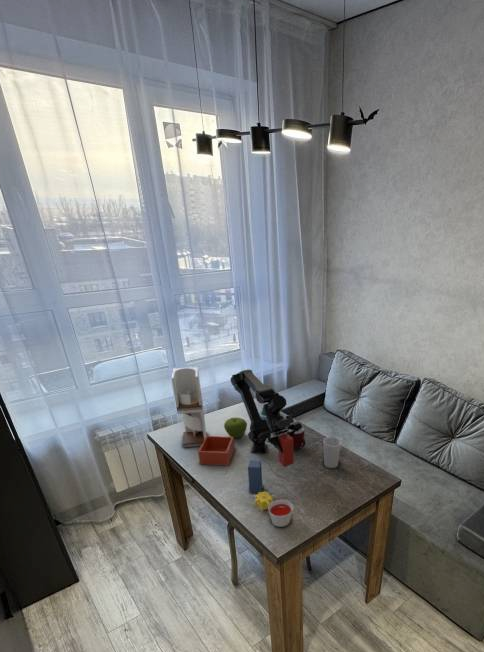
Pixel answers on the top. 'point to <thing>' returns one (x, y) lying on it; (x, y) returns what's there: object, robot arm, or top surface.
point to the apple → (235, 427)
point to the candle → (280, 512)
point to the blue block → (255, 476)
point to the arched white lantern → (189, 404)
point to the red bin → (216, 450)
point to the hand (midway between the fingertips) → (287, 451)
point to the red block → (286, 450)
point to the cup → (331, 451)
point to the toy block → (263, 500)
